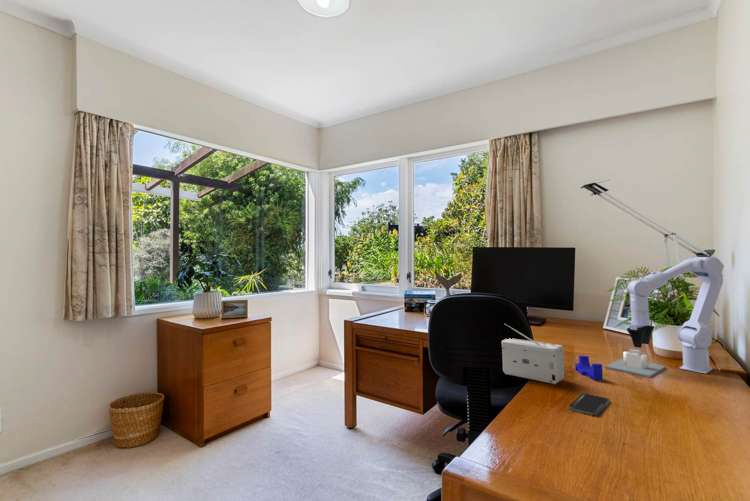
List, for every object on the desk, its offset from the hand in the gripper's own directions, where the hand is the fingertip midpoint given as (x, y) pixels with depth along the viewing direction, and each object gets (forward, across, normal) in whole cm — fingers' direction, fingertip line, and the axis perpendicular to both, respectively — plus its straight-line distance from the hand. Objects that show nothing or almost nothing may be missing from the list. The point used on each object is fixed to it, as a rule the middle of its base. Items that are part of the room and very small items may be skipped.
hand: (641, 345), depth 141 cm
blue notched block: (+10, +23, -10) cm, 27 cm away
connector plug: (+8, +1, -2) cm, 9 cm away
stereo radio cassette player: (+9, +41, -22) cm, 48 cm away
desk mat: (+9, +1, -2) cm, 10 cm away
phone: (+10, +51, +3) cm, 52 cm away
